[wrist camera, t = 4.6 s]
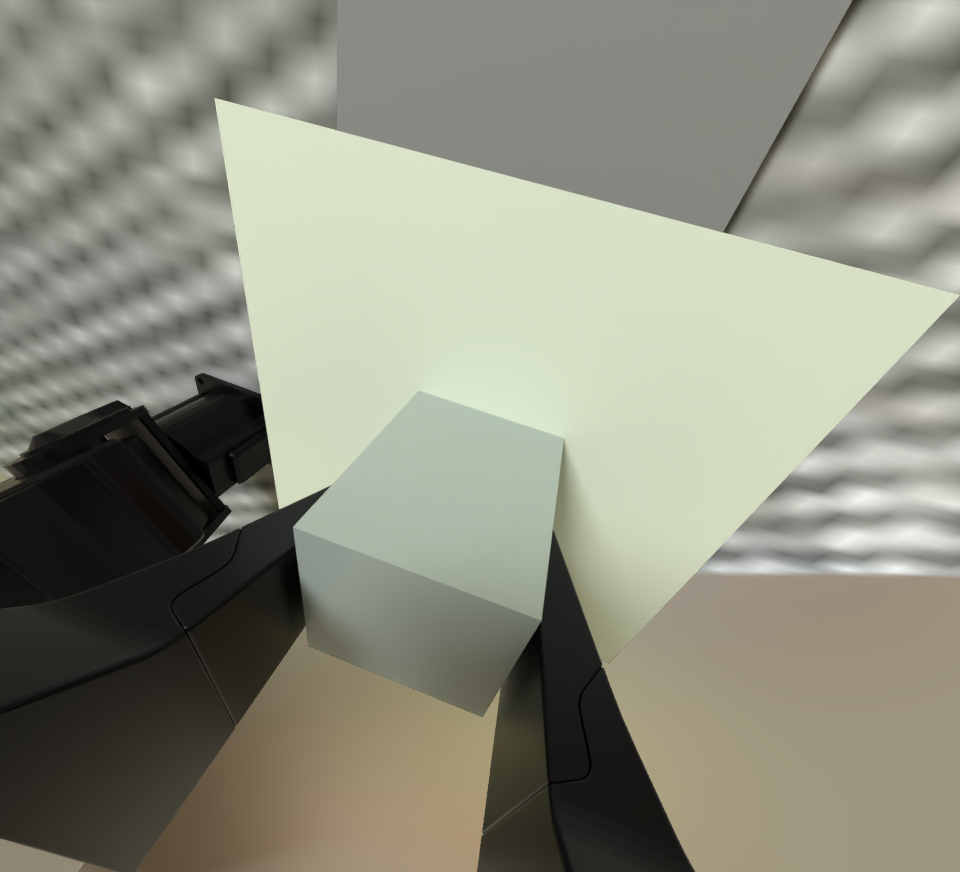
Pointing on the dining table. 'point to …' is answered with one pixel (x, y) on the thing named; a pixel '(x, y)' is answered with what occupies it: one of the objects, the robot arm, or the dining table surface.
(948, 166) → the dining table surface
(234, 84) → the dining table surface
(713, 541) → the cover
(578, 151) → the grey square panel
